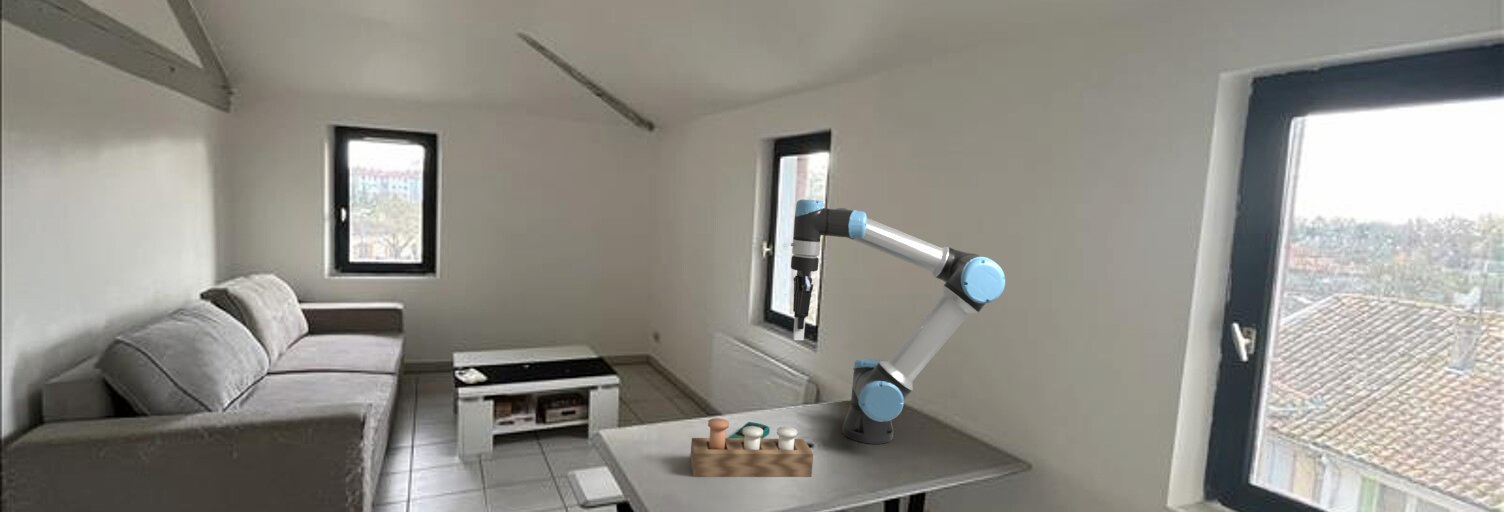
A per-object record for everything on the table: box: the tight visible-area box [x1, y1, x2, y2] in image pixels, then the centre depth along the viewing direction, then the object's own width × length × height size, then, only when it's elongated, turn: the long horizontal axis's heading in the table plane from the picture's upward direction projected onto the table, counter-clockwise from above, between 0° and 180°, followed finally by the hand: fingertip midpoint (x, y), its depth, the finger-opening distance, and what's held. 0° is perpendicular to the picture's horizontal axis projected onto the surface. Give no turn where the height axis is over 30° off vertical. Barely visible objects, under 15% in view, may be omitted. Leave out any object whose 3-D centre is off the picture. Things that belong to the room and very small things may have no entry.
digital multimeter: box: [728, 421, 770, 439], centre depth 194 cm, size 7×15×3 cm, turn 159°
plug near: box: [776, 426, 798, 450], centre depth 175 cm, size 5×5×9 cm
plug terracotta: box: [707, 417, 730, 450], centre depth 172 cm, size 5×5×9 cm
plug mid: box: [743, 426, 763, 450], centre depth 174 cm, size 5×5×9 cm
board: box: [689, 437, 814, 478], centre depth 174 cm, size 30×10×6 cm, turn 100°
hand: (798, 339), depth 189 cm, fingers closed
